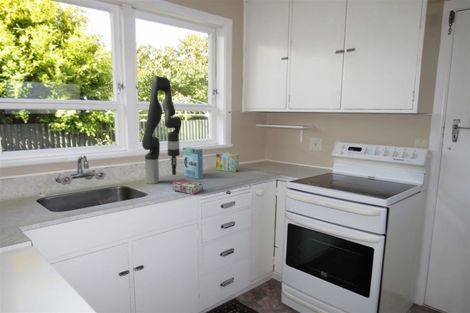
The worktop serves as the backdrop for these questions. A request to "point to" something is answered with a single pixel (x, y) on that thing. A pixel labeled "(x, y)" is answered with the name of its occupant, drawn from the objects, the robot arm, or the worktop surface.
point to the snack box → (227, 162)
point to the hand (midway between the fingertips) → (174, 174)
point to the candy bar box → (188, 186)
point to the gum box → (193, 162)
